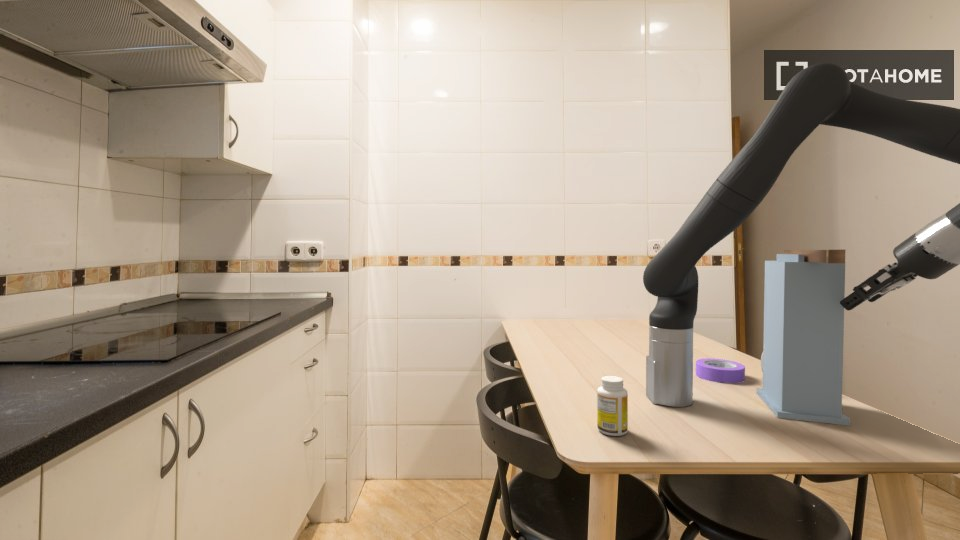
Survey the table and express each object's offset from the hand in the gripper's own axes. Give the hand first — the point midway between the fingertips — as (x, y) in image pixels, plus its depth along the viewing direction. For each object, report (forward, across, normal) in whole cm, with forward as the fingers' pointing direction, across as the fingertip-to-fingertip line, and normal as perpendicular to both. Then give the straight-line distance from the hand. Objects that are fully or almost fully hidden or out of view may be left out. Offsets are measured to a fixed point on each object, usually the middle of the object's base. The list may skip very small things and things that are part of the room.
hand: (855, 302), depth 83 cm
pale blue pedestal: (+23, +4, +11) cm, 26 cm away
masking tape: (+41, -3, -3) cm, 41 cm away
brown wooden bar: (-1, +3, -10) cm, 11 cm away
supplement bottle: (+26, +48, +1) cm, 55 cm away
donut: (+33, -9, +4) cm, 35 cm away
